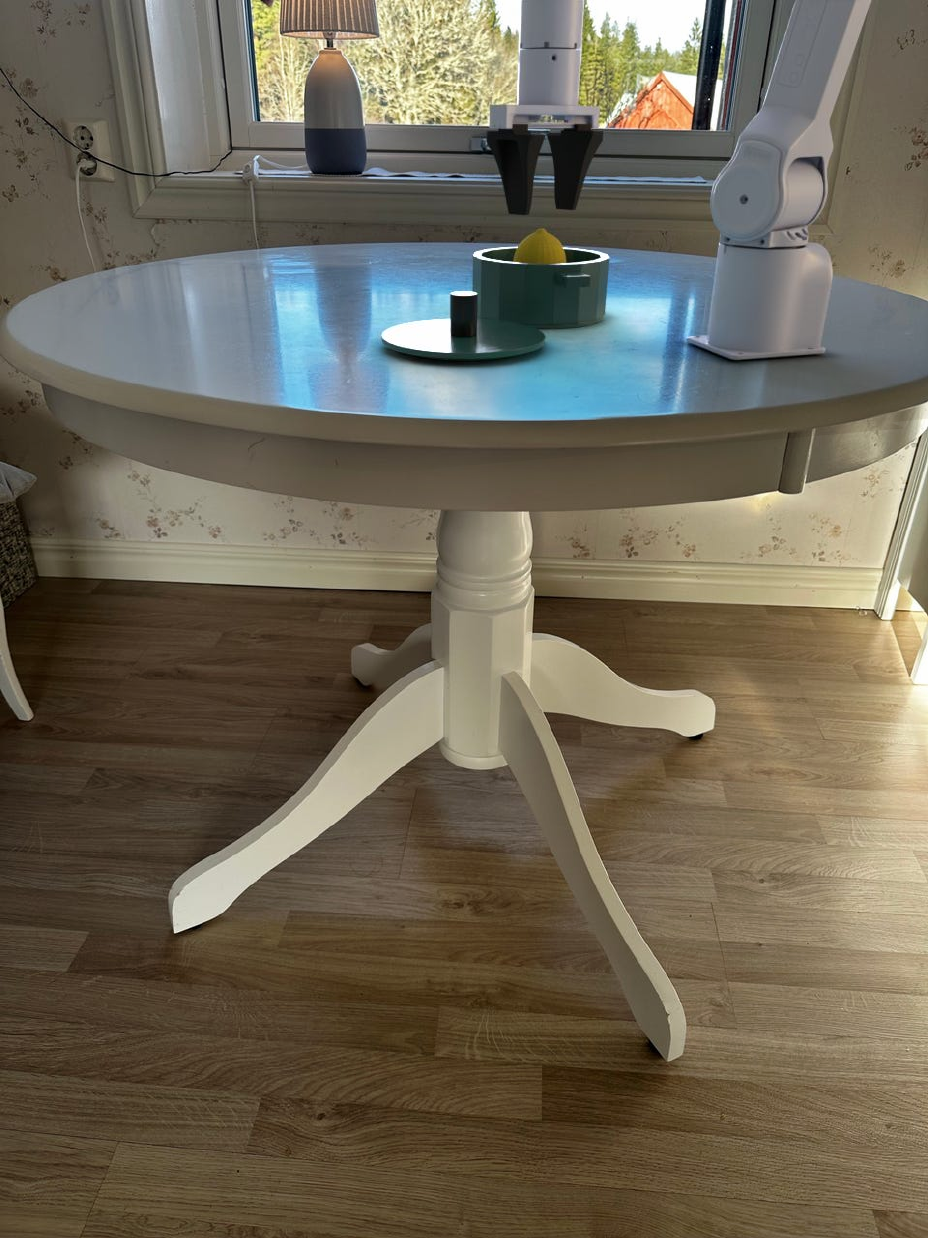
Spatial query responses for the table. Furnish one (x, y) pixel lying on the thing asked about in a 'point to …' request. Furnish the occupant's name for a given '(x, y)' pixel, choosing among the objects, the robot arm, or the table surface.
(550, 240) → the lemon
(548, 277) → the pot
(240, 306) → the table surface
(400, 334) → the lid
